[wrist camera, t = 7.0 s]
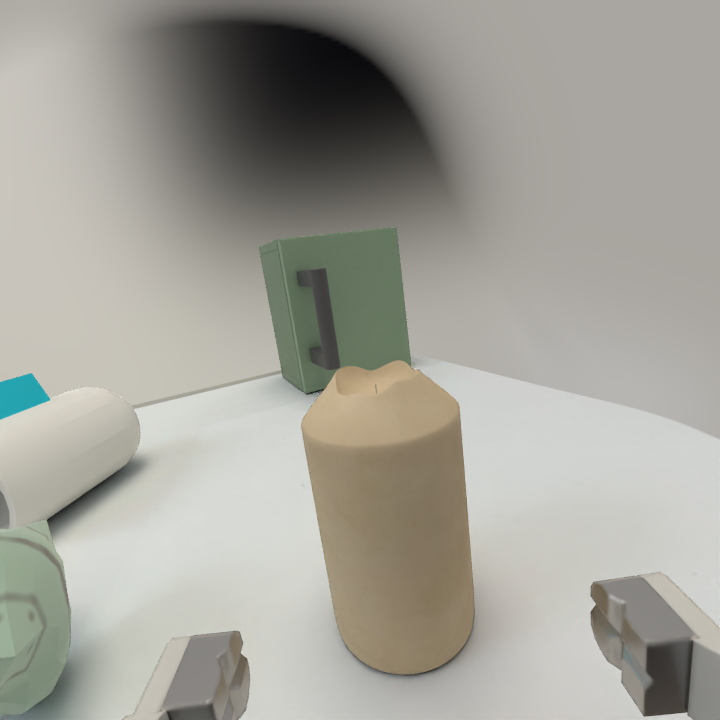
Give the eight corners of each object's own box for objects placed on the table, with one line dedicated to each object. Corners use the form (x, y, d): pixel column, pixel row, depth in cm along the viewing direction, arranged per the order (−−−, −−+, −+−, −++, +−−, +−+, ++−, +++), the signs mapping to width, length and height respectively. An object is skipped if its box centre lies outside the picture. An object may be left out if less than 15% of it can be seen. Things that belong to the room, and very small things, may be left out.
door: (436, 373, 46) (422, 220, 42) (322, 405, 41) (294, 233, 37) (407, 364, 52) (392, 228, 48) (303, 391, 46) (276, 240, 42)
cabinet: (406, 364, 52) (391, 227, 48) (302, 392, 46) (276, 239, 42) (374, 354, 60) (358, 235, 56) (282, 376, 54) (258, 247, 50)
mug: (109, 341, 32) (-68, 391, 21) (174, 435, 34) (40, 529, 22) (21, 404, 36) (-173, 476, 24) (83, 487, 37) (-74, 592, 26)
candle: (308, 625, 16) (260, 387, 14) (390, 543, 20) (364, 347, 18) (426, 713, 12) (390, 410, 10) (499, 593, 16) (485, 354, 14)
